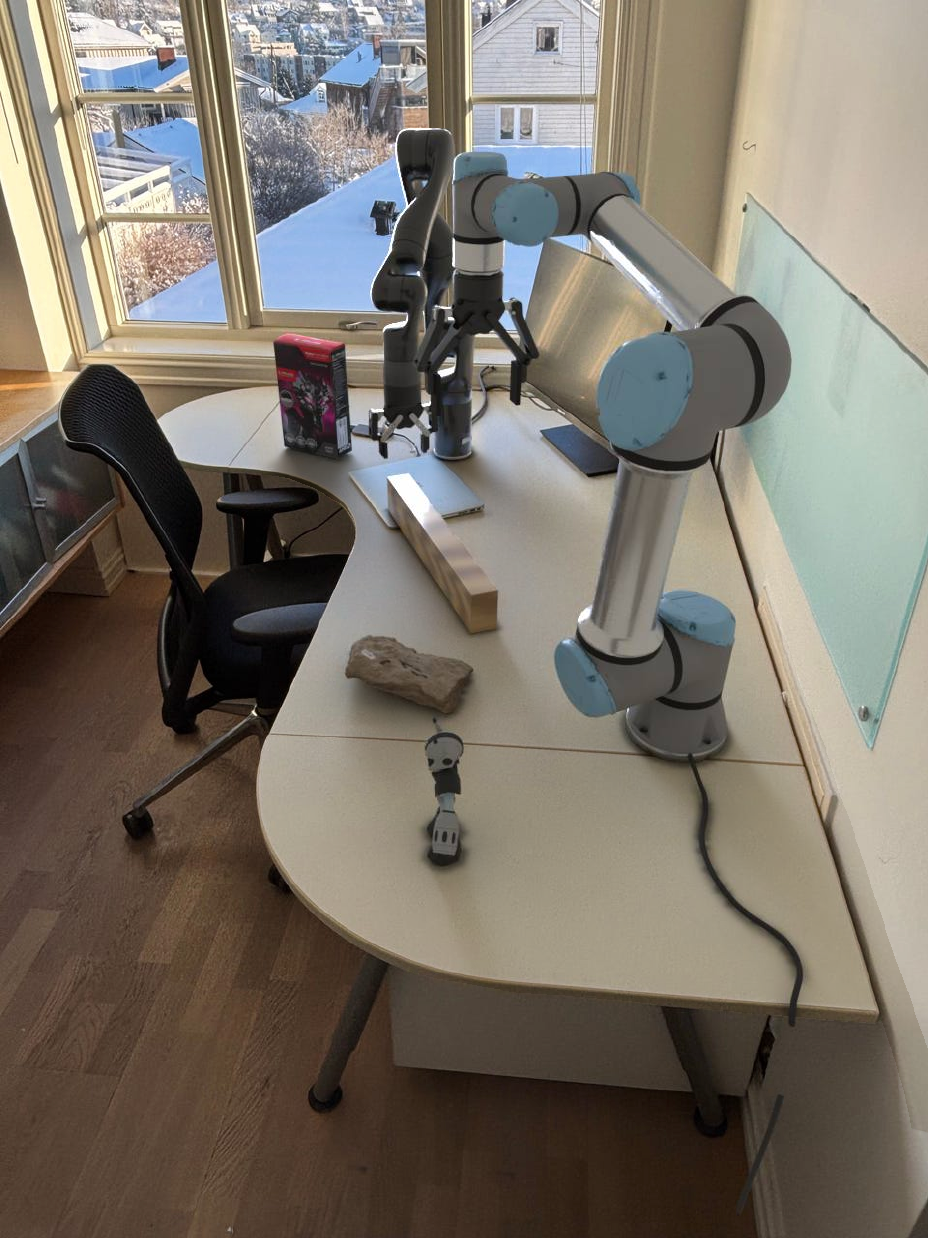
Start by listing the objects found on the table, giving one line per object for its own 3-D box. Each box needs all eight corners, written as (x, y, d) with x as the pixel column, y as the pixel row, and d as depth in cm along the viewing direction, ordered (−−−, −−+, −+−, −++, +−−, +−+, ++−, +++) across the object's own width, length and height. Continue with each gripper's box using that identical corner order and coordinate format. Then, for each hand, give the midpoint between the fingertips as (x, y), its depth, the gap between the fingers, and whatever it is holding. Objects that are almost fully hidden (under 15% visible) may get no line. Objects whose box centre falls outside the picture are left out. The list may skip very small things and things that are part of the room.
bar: (496, 628, 166) (498, 590, 162) (470, 633, 165) (471, 595, 160) (409, 506, 206) (408, 473, 201) (388, 510, 204) (386, 476, 200)
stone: (320, 686, 146) (326, 652, 144) (355, 651, 160) (362, 621, 157) (443, 730, 143) (452, 697, 140) (469, 692, 156) (477, 661, 154)
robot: (466, 900, 116) (468, 784, 104) (427, 902, 115) (425, 785, 104) (459, 789, 132) (460, 678, 121) (425, 790, 132) (423, 679, 120)
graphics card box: (282, 447, 232) (270, 339, 217) (298, 438, 237) (288, 331, 222) (338, 461, 225) (330, 350, 210) (354, 451, 230) (347, 342, 215)
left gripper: (429, 368, 188) (430, 443, 197) (362, 376, 184) (366, 452, 193) (442, 380, 182) (442, 456, 191) (372, 389, 178) (376, 466, 187)
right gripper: (544, 257, 142) (537, 390, 154) (389, 270, 135) (394, 408, 147) (565, 268, 136) (556, 406, 148) (405, 282, 129) (408, 425, 141)
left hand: (404, 454), depth 192 cm, fingers open, 8 cm apart
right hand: (475, 407), depth 148 cm, fingers open, 13 cm apart
